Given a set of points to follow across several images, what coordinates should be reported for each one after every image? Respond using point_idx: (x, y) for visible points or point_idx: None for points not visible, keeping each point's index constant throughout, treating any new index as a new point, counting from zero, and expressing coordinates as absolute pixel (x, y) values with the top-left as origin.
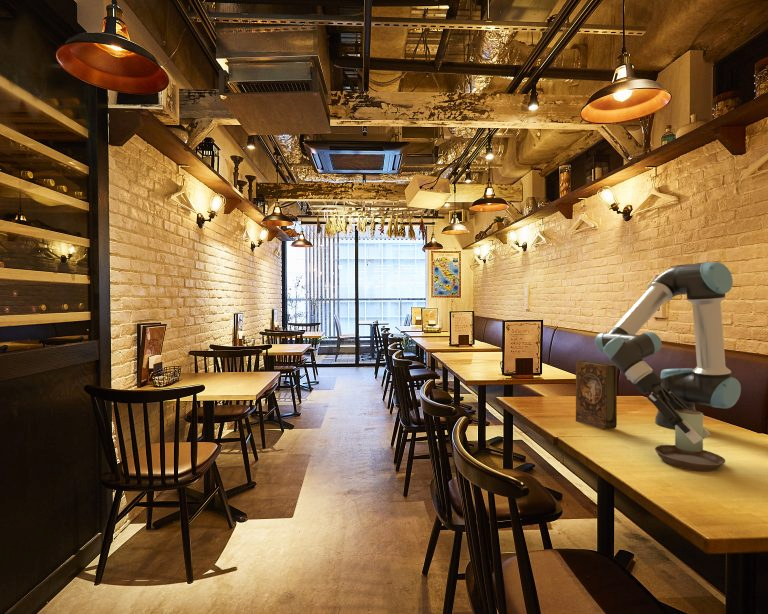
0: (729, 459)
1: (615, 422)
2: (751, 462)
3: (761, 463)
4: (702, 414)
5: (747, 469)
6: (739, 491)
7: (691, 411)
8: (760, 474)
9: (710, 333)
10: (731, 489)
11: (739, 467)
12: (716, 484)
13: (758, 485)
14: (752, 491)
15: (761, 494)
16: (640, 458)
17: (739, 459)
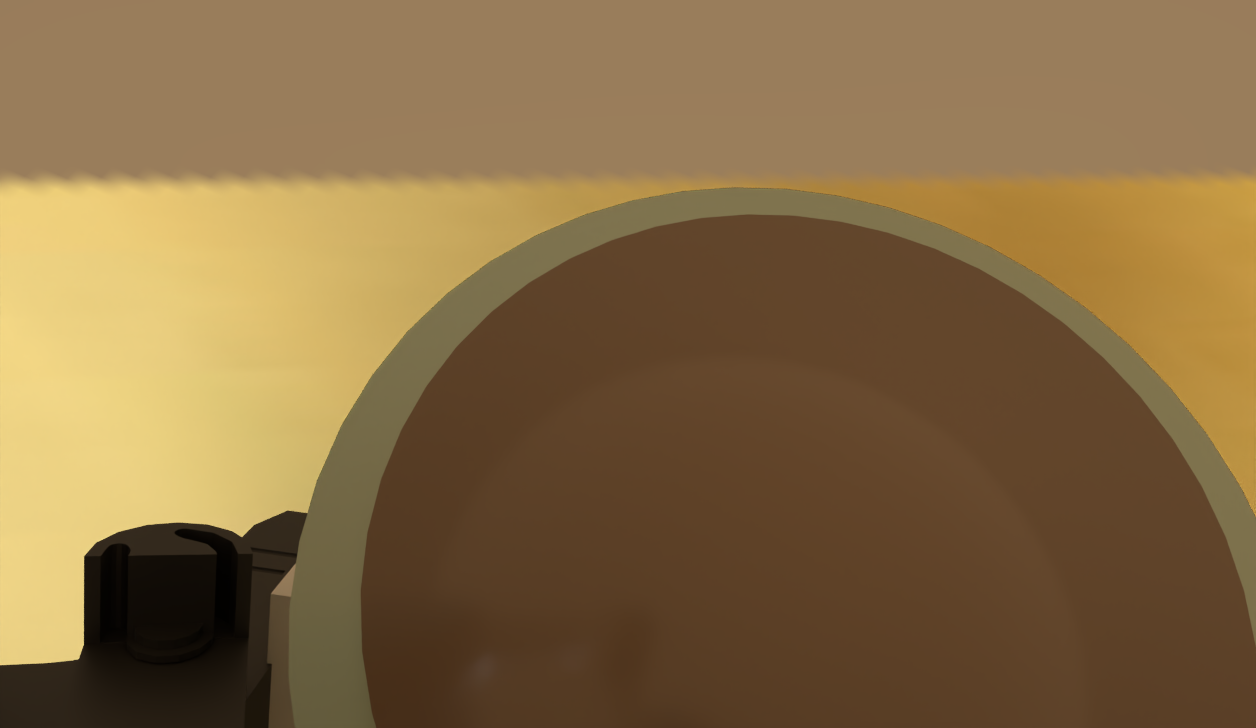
0: (105, 430)
1: None
2: (99, 251)
3: (81, 183)
4: (818, 201)
5: (432, 271)
6: (1223, 295)
7: (788, 479)
8: (530, 187)
9: None
10: (1237, 345)
11: (408, 330)
12: (1228, 454)
13: (903, 195)
14: (1118, 224)
15: (1128, 178)
16: None
17: (33, 347)
